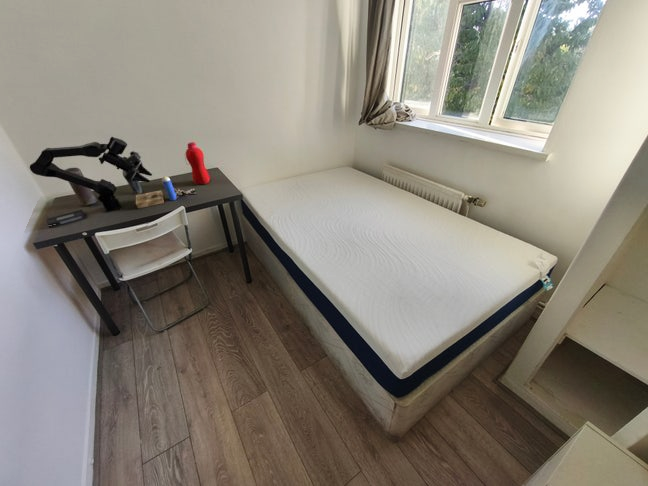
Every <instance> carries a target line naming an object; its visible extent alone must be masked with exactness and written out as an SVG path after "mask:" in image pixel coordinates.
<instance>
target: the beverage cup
mask: <svg viewBox="0 0 648 486" xmlns="http://www.w3.org/2000/svg"><path fill="white" fill-rule="evenodd" d="M125 175H126V171H124V170H122V177H123V178H124V179H125ZM131 180H132V179H131ZM131 180H130V181H128V180H126V182H127V184H128V185H129V188H130V189H131V190H132V192H133V194H134V195H140V194H143V188H142V185H141V181H131Z"/></svg>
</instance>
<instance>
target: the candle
mask: <svg viewBox="0 0 648 486" xmlns="http://www.w3.org/2000/svg"><path fill="white" fill-rule="evenodd" d="M64 170H66V171H69V172H71V173H74V174H77V175H80V176H83V177H85V175H84V174H83V172H82V170H81V168H79V167H68V168H66V169H64ZM68 184H69V186H70V188H71V189H72V191H73V193H74V194H75V196H76V198H77V200H78V201H79V203H80V205H81V206H83V207H86V206H90V205H94V204H96V203H97V201H98V199H97V198H96V196H95V193H94V191H93V190H92V189H89V188H86V187H83V186H80V185H77V184H74V183H71V182H68Z"/></svg>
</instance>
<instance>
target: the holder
mask: <svg viewBox="0 0 648 486" xmlns="http://www.w3.org/2000/svg"><path fill="white" fill-rule="evenodd" d="M161 204H165V198H164V193H163V191H162V190H161V189H160V190H155V191H149V192H146V193H139V194H135V205H136V208H137V209H143V208H148V207H152V206H156V205H161Z"/></svg>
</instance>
